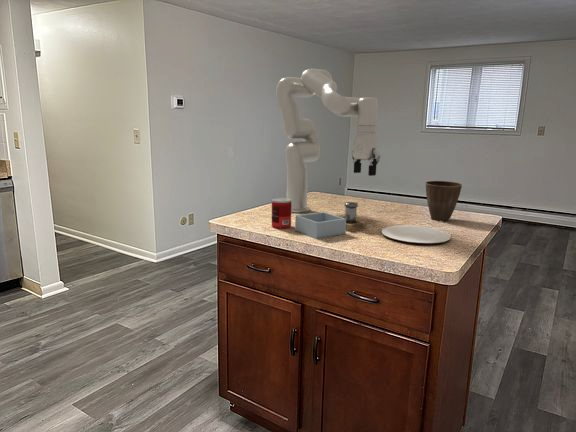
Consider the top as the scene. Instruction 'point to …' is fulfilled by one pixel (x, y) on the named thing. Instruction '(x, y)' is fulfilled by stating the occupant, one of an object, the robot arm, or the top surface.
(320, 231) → the bin
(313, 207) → the top surface
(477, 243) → the top surface
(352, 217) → the peg
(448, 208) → the plant pot
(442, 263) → the top surface
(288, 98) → the robot arm
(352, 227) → the socket block
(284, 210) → the canned food
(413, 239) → the plate
